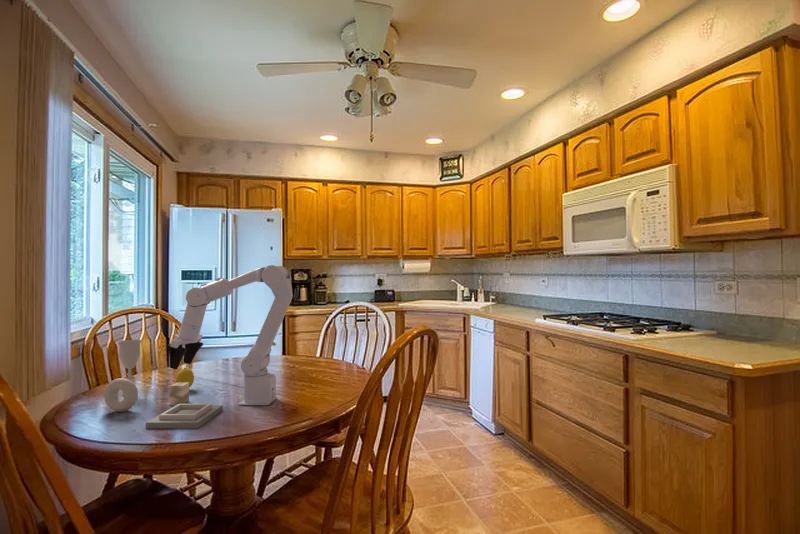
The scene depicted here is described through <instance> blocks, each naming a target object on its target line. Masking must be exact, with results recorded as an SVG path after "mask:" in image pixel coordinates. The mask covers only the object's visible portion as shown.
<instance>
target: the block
mask: <svg viewBox="0 0 800 534" xmlns="http://www.w3.org/2000/svg"><path fill="white" fill-rule="evenodd" d="M188 401H189V402H190V387H189V382H185V383H173V384H170V385H169V406H176V405H178V404H187V403H189V402H188ZM186 402H187V403H186Z"/></svg>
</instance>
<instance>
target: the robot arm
mask: <svg viewBox="0 0 800 534" xmlns="http://www.w3.org/2000/svg"><path fill="white" fill-rule="evenodd" d="M214 279H215V280H214V281H212V282H209V283H202V284H201V287H192V288H190V289H189V290H188V291H187V292H186V294H185V301H186V307H185V310H184V314H183V317H182V321H181V326H180V328H179V331H178V334H177V333H176V334H174V339H172V340H171V343H169V344H167V346H166V349H167V351H168V356H169V368H170V369H172V370H177V369H179V366H180V364H181V362H182V361H183V363H184V364H187V365H191V364H192V363H193V360H194V359H195V357H196V355H197V353H198V352H199V350H200V349H201V348H202V347H203V346H204V343H203V342H201V341H202V340H203V335H202V334H200V333H201V330H202V326H203V322H204V318H205V314H206V310H207V307H208V305H209V304H210V303H211V302H214V301H217V300H219V299H222V298H225V297H228V296H230V295H232V292H233V291H234V289H238V288H241V287H245V286H247V285H250V284H253V283H255V282H257V283H264V284H265V285H266V286H267V287H268V288H269V289H271V290H270V291H271V292H272V294H273V296H274V299H273V301H272V304H271V306H270V308H269V311H268V313H267V315H266V318H265V320H264V322H263V324H262V326H261V328H260V331H259V333H258V336H257V338H256V341H255V343H254V344H253V345H252V347H251V348H250V349H249V352H248V354H247V355H246V356H244V357H243V358H242V360H241V362H240V367H241V371H242V372H243V400H241V401H240V402H239V403H238V406H269V405H271V404H272V402H274V401H275V400H276V399H277V397H278V396H277V378H276V377H277V376H276V374H275V373H269V370H268V368H267V367H268V366H269V364H270V361H271V359H270V358H271V357H270V356H271V352H272V346H273V343H274V341H275V339H276V337H277V334H278V331H279V329H280V327H281V324H282V323H283V321H284V318H285V316H286V313H287V311H288V308H289V306H290V304H291V302H292V299H293V297H294V295H293V287H292V276H291V274H290V272H289V270H288V269H287V268H286V267H284V266H282V265H274V264H273V265H272V264H270V265H266V266H265V267H264V266H262V267H258V268H255V269H252V270H250V271H248V272H245V273H243V274H241V275H239V276H236V277H234V278H231V279H227V278H224V277H222V278H221V277H218V278H217V277H216V278H214ZM183 346H184V347H183Z"/></svg>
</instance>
